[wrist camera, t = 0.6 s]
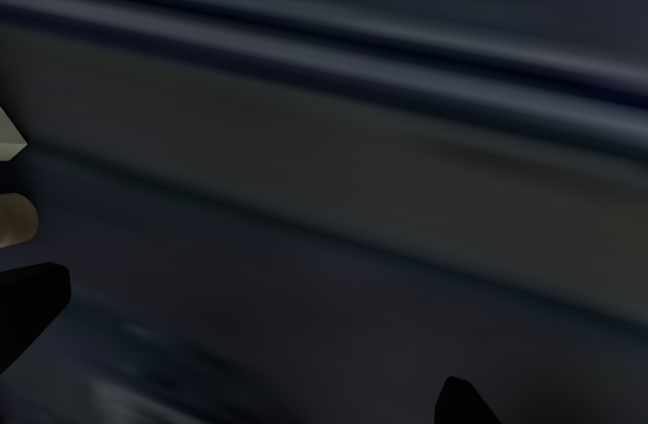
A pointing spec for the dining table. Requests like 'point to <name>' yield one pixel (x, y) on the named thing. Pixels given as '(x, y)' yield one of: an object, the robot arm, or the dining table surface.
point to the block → (9, 138)
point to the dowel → (16, 219)
